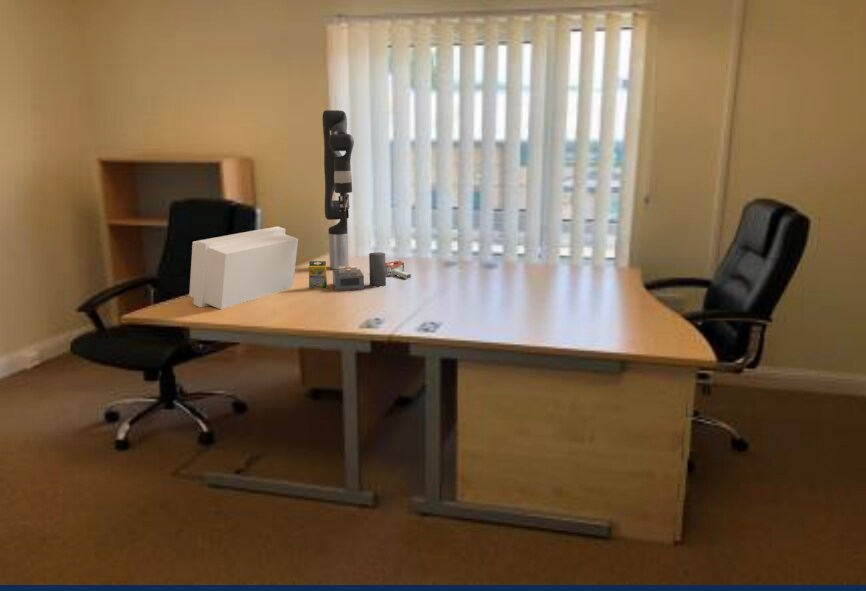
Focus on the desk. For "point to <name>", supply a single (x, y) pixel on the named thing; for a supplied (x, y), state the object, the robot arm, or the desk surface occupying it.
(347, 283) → the panel
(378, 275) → the grey round-ended cylinder
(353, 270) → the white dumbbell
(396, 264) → the tape dispenser
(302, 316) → the desk surface
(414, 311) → the desk surface
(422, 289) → the desk surface
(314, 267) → the crayon box
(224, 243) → the light box
